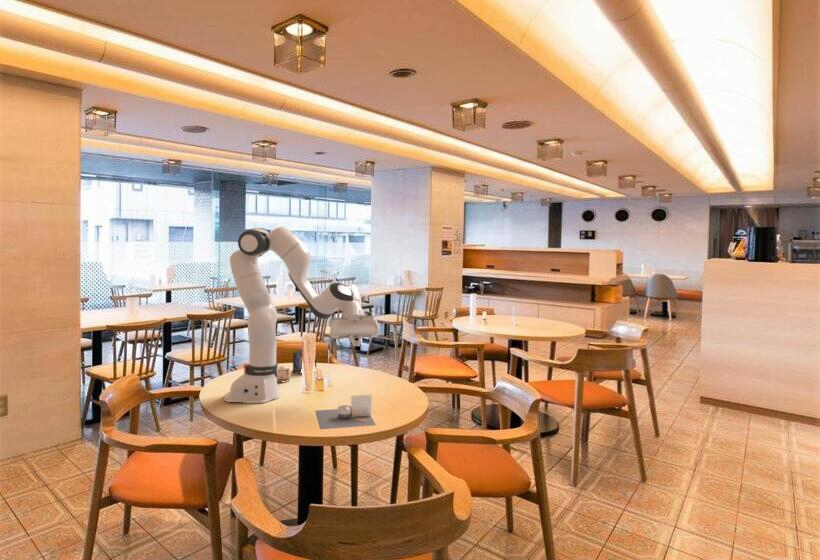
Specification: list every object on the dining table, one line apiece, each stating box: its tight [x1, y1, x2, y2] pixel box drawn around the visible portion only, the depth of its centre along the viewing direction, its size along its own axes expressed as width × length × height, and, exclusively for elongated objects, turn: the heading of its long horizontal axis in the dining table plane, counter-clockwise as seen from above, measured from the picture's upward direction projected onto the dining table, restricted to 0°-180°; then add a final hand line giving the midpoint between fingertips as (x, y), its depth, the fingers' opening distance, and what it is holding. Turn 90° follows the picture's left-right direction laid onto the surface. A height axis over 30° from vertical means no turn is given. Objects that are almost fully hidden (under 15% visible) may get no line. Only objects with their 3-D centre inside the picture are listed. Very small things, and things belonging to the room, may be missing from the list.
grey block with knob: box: [337, 394, 373, 419], centre depth 190 cm, size 12×5×8 cm, turn 106°
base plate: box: [315, 408, 377, 430], centre depth 189 cm, size 20×20×1 cm
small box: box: [292, 349, 318, 374], centre depth 256 cm, size 11×6×10 cm, turn 70°
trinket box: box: [277, 363, 292, 382], centre depth 240 cm, size 13×15×8 cm
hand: (356, 345), depth 203 cm, fingers closed
